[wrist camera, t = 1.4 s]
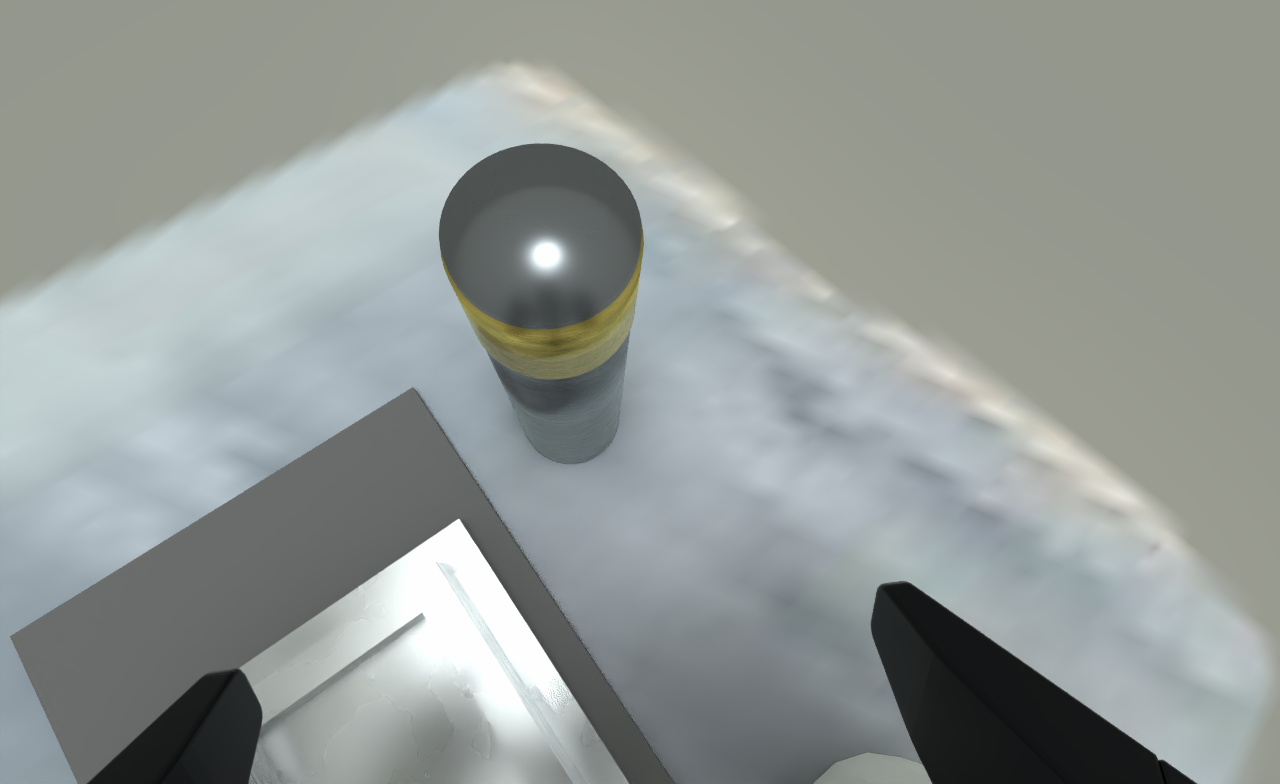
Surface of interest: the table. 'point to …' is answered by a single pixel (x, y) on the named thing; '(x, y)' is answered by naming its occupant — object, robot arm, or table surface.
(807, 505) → the table surface
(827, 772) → the white cylinder
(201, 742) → the robot arm
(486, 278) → the grey yellow-banded cylinder
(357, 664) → the silver square tray
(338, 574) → the mat
